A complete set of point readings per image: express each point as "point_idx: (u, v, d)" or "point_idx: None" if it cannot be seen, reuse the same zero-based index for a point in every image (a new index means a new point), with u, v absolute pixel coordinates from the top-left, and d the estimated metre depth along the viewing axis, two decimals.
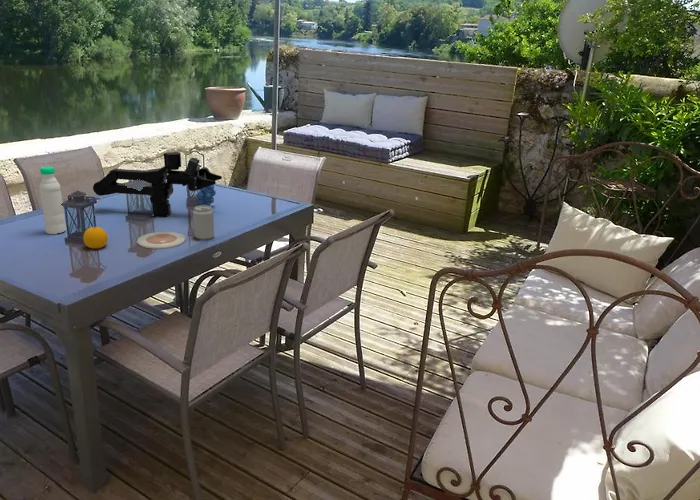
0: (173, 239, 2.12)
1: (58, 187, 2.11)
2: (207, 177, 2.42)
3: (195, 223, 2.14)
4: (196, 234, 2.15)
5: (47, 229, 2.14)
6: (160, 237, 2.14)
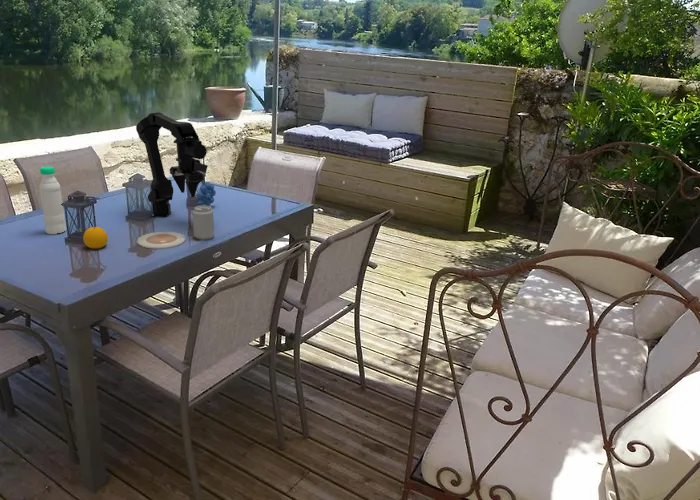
0: (173, 239, 2.12)
1: (58, 187, 2.11)
2: (180, 177, 2.28)
3: (195, 223, 2.14)
4: (196, 234, 2.15)
5: (47, 229, 2.14)
6: (160, 237, 2.14)
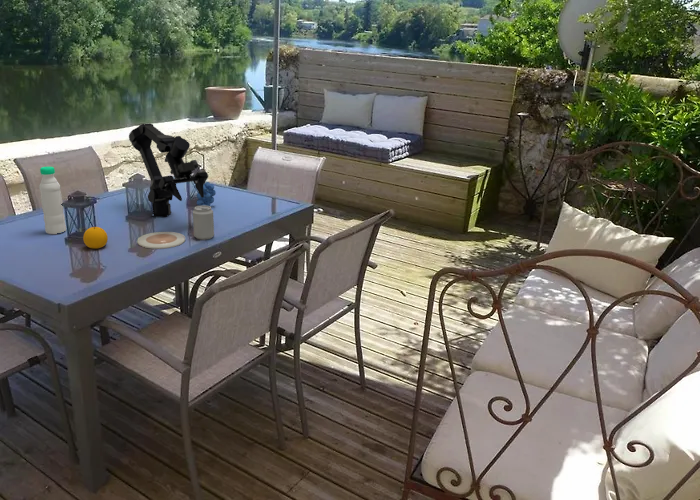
0: (173, 239, 2.12)
1: (58, 187, 2.11)
2: (197, 184, 2.25)
3: (195, 223, 2.14)
4: (196, 234, 2.15)
5: (47, 229, 2.14)
6: (160, 237, 2.14)
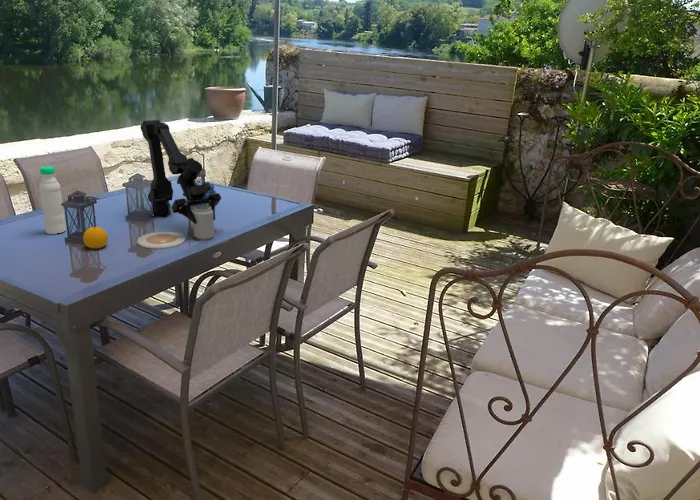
0: (173, 239, 2.12)
1: (58, 187, 2.11)
2: None
3: None
4: (196, 234, 2.15)
5: (47, 229, 2.14)
6: (160, 237, 2.14)
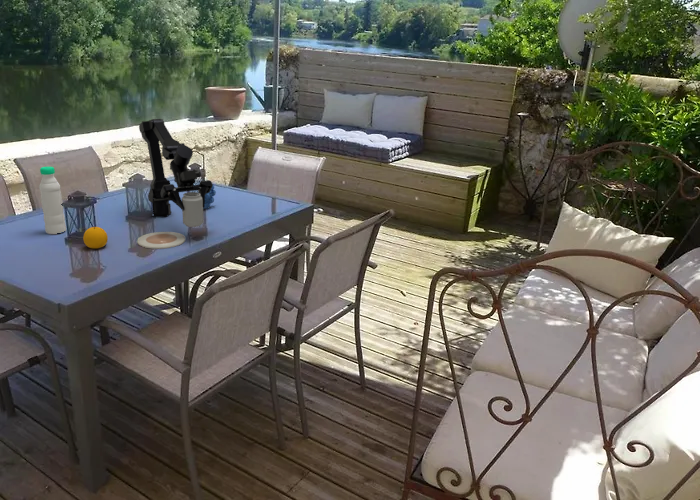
0: (173, 239, 2.12)
1: (58, 187, 2.11)
2: None
3: None
4: (184, 221, 2.12)
5: (47, 229, 2.14)
6: (160, 237, 2.14)
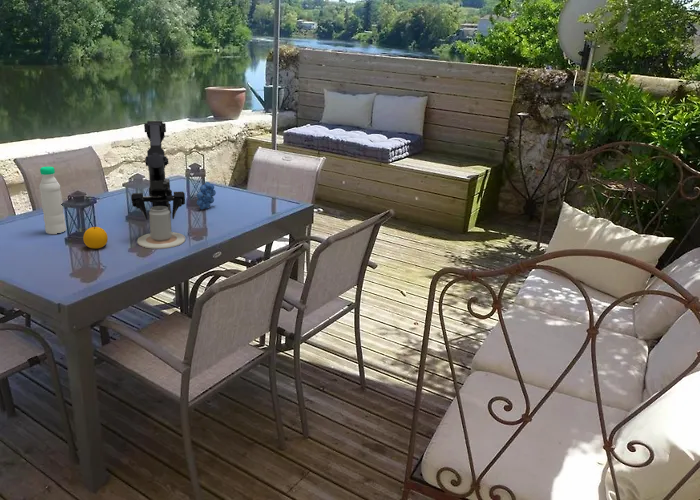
0: (173, 239, 2.12)
1: (58, 187, 2.11)
2: None
3: None
4: None
5: (47, 229, 2.14)
6: None
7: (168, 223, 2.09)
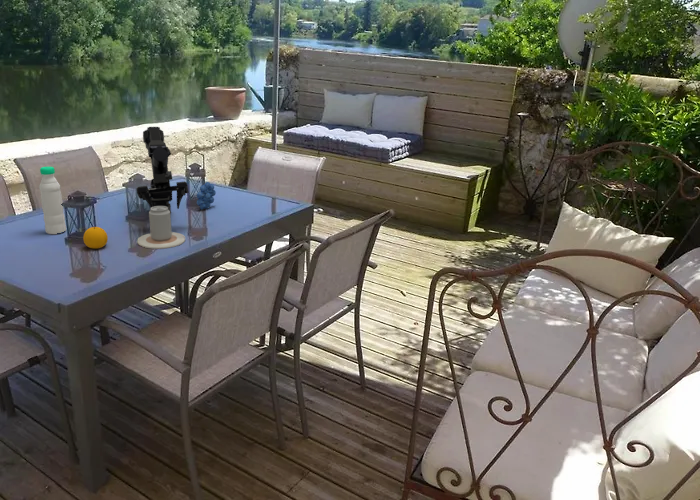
0: (173, 239, 2.12)
1: (58, 187, 2.11)
2: None
3: None
4: None
5: (47, 229, 2.14)
6: None
7: (168, 223, 2.09)
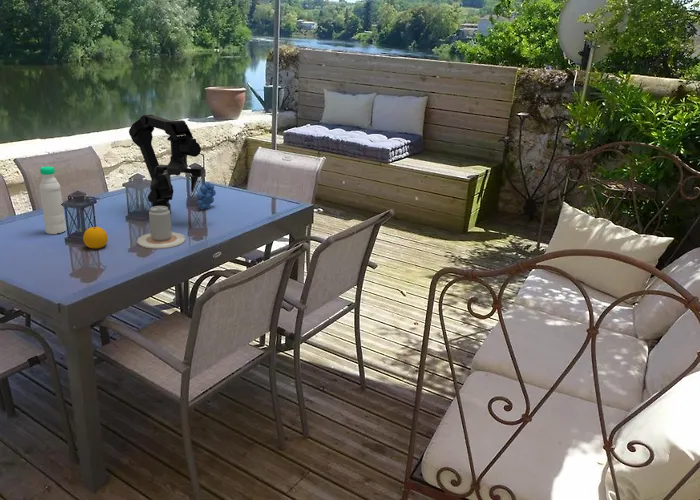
0: (173, 239, 2.12)
1: (58, 187, 2.11)
2: None
3: None
4: None
5: (47, 229, 2.14)
6: None
7: (168, 223, 2.09)
